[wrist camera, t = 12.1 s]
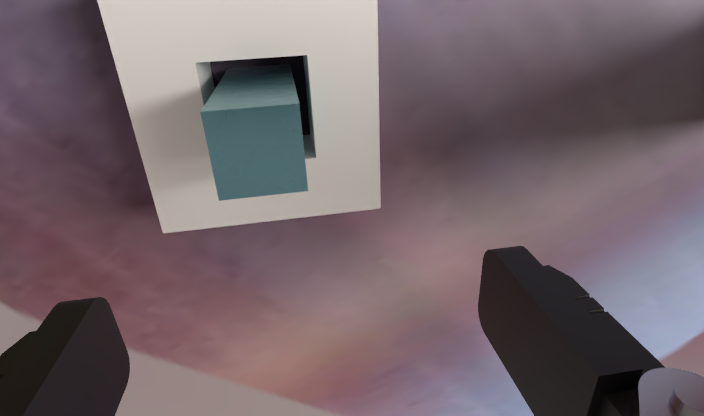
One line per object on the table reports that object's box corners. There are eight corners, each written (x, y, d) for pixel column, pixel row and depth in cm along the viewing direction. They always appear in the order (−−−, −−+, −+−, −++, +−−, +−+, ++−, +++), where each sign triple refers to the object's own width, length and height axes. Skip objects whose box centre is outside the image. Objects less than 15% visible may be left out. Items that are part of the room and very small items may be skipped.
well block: (359, -27, 27) (376, -31, 22) (366, 180, 33) (380, 208, 29) (124, -16, 25) (91, -19, 20) (178, 199, 31) (162, 233, 27)
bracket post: (289, 63, 28) (299, 103, 18) (296, 122, 30) (308, 190, 20) (228, 67, 28) (200, 111, 17) (238, 127, 30) (218, 200, 19)
